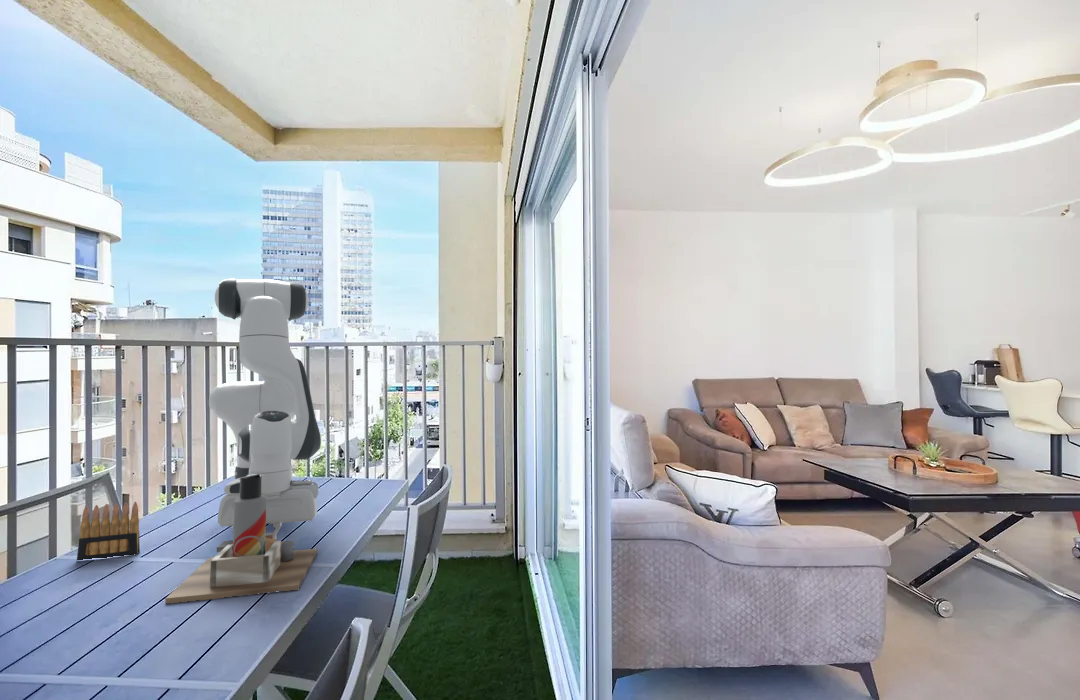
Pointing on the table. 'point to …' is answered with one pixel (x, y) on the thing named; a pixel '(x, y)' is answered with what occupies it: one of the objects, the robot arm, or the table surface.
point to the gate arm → (282, 548)
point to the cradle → (243, 574)
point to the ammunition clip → (109, 533)
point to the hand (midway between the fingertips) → (268, 541)
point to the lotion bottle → (249, 518)
